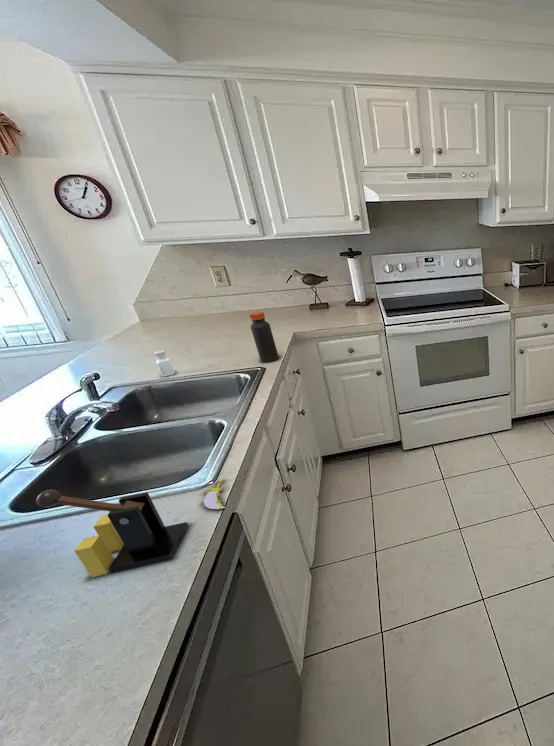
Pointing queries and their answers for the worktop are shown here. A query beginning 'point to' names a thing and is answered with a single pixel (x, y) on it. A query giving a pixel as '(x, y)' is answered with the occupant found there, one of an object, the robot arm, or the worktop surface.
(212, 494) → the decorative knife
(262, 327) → the bottle
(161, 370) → the pepper shaker
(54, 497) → the arm
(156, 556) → the bracket
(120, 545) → the butter
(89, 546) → the butter
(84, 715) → the worktop surface
